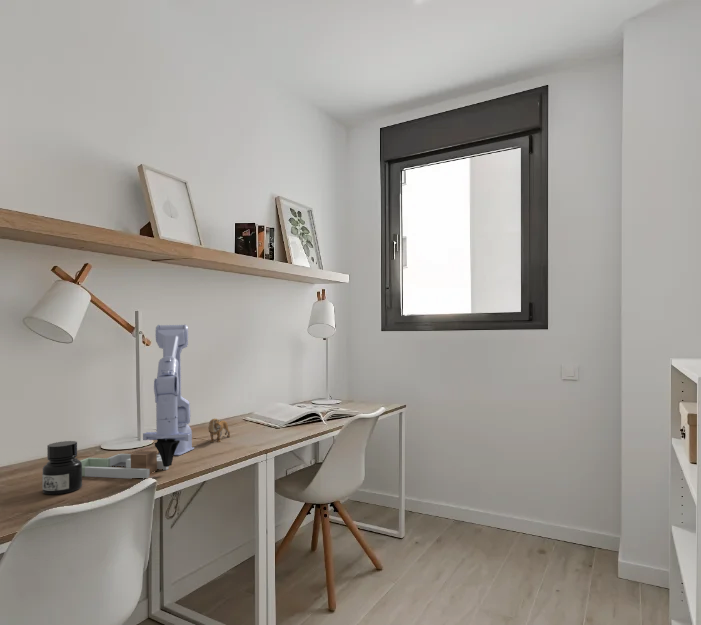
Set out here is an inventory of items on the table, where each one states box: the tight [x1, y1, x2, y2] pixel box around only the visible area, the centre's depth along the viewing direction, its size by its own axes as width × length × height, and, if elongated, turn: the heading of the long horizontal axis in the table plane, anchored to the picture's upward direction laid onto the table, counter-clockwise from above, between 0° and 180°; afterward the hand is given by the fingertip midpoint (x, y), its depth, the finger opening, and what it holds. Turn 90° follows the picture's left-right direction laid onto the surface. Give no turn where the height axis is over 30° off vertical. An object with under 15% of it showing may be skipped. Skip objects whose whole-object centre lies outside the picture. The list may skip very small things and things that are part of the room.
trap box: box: [80, 453, 170, 480], centre depth 148 cm, size 16×28×2 cm, turn 77°
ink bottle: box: [41, 440, 83, 495], centre depth 130 cm, size 10×9×12 cm
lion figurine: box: [208, 418, 231, 443], centre depth 187 cm, size 15×5×9 cm, turn 177°
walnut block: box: [130, 449, 158, 474], centre depth 144 cm, size 5×5×6 cm
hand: (167, 465), depth 142 cm, fingers closed
